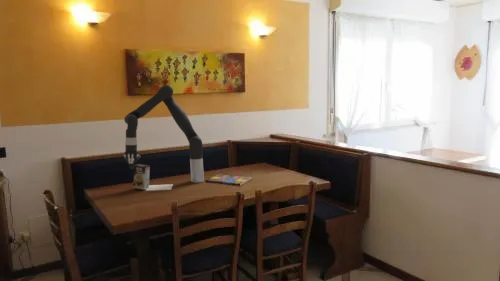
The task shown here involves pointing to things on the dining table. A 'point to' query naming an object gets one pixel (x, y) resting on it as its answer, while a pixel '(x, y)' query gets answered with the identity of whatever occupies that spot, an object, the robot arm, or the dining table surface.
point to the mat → (159, 187)
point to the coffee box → (141, 176)
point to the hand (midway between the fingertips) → (131, 168)
